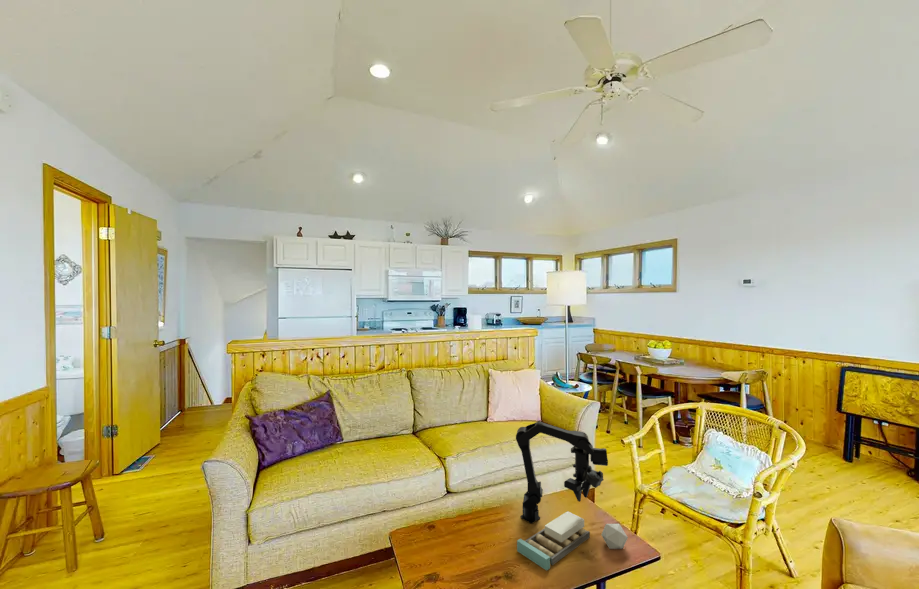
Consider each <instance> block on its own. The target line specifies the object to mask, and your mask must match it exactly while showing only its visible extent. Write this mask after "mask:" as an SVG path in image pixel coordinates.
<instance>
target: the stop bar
mask: <svg viewBox="0 0 919 589" xmlns="http://www.w3.org/2000/svg"><path fill="white" fill-rule="evenodd" d="M516 551H517V552H518V553H519V554H520V555H523V556H524V557H525V558H527V559H528V560H530V561H531V562H533V563H535V564H536V565H538V567H540V568H542V569H544V570H545V571H546V572H547V571H549V570H550V569H551V562H550V557H549V556H548V555H546V554H544V553H543V552H541V551H540V550H538V549H536V548H535V547H533V546H532V545H530V544H528V543H527V542H525V540H524V539H522V538H519V539H517V540H516Z"/></svg>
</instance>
